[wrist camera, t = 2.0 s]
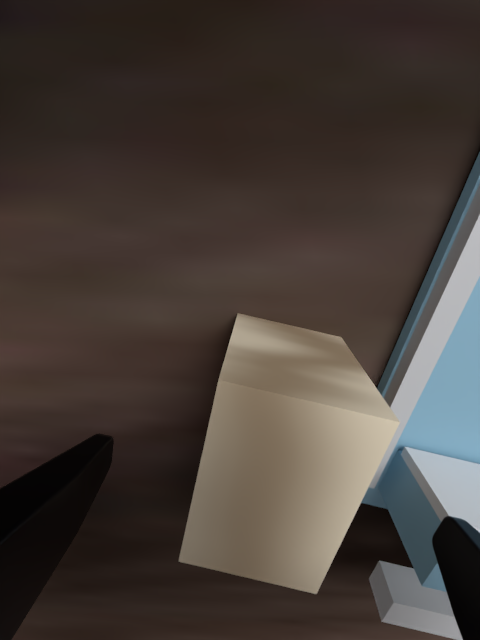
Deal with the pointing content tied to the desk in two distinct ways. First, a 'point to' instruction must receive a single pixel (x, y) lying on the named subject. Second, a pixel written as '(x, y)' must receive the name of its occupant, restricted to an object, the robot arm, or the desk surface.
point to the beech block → (284, 455)
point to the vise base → (440, 350)
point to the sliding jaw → (423, 537)
